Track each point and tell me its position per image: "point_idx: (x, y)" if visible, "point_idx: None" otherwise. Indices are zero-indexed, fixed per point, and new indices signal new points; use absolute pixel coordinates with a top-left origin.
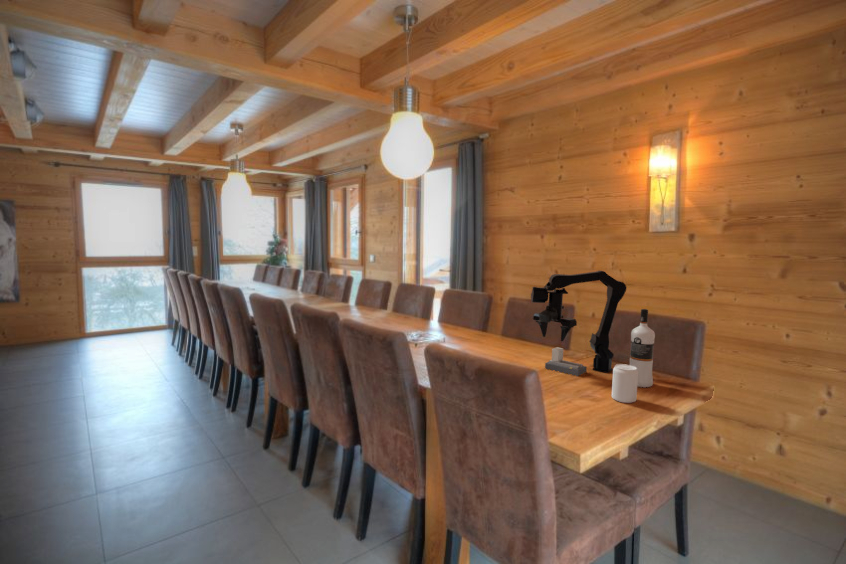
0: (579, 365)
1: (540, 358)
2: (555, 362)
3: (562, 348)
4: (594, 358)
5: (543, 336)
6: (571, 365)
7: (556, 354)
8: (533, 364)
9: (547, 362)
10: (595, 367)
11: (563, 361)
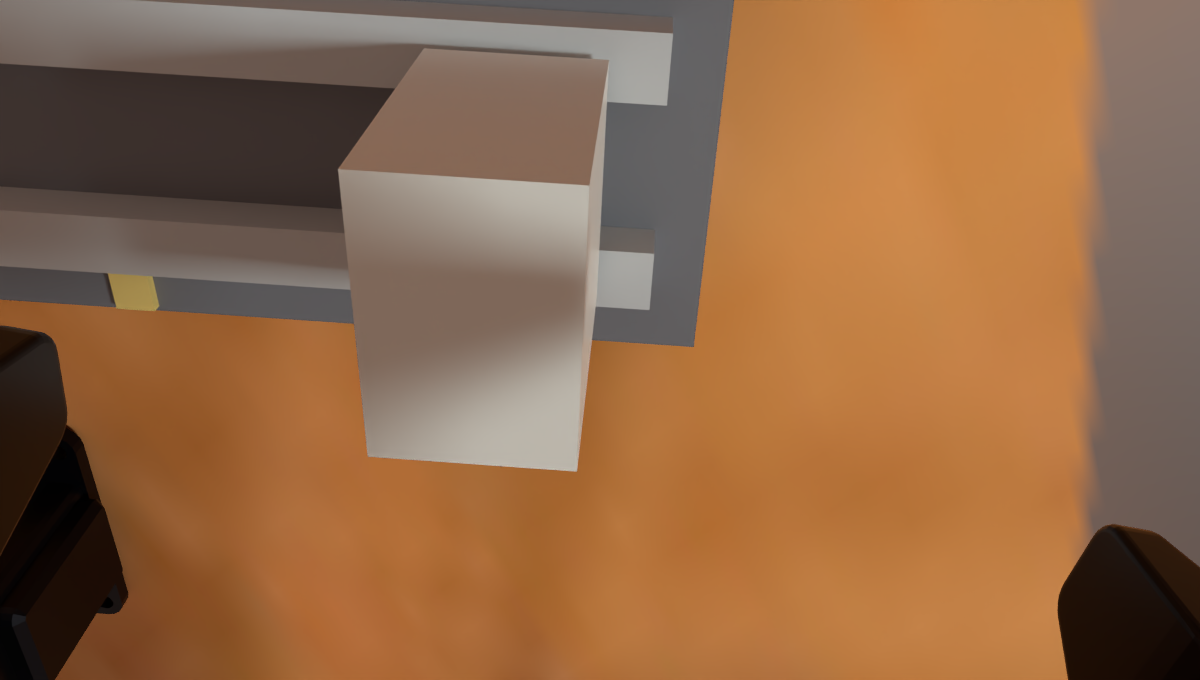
0: (21, 203)
1: (1054, 490)
2: (487, 18)
3: (386, 444)
4: (3, 617)
5: (1135, 533)
6: (48, 5)
7: (444, 117)
8: (1074, 33)
9: (713, 15)
10: (48, 491)
11: None
